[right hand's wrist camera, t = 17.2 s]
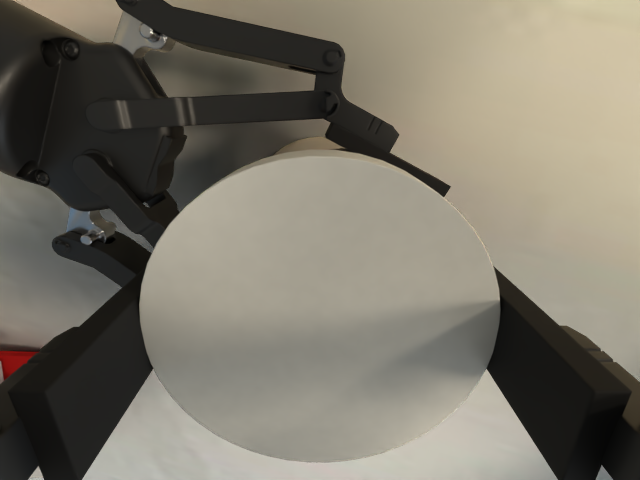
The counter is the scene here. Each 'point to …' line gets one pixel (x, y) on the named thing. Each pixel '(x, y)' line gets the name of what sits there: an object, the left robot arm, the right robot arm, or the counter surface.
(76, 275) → the counter surface
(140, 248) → the left robot arm
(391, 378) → the lid
